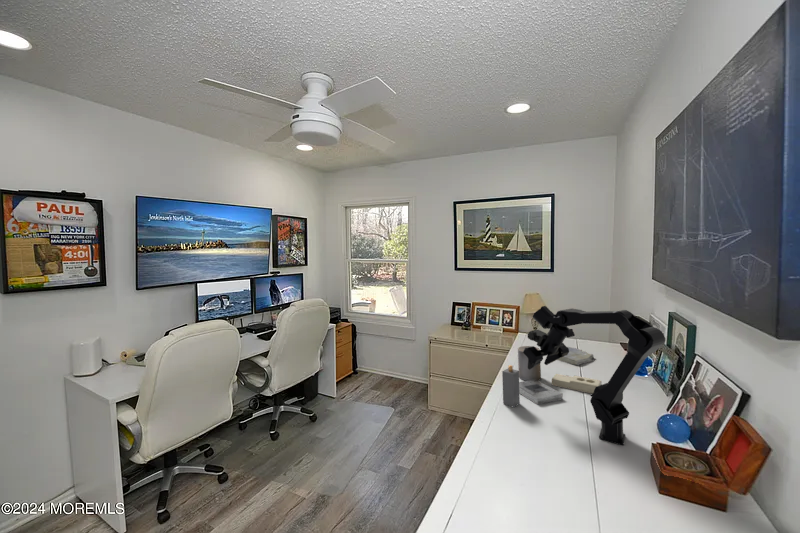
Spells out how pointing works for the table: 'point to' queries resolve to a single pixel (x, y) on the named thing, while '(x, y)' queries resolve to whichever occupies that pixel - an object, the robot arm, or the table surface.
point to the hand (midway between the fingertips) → (537, 366)
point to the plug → (511, 386)
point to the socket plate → (539, 392)
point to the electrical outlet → (576, 383)
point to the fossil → (577, 356)
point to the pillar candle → (523, 367)
